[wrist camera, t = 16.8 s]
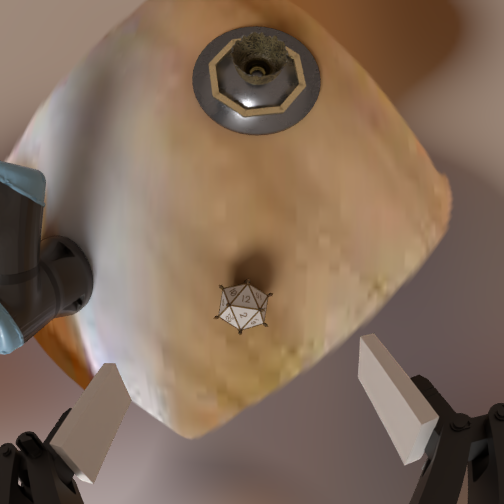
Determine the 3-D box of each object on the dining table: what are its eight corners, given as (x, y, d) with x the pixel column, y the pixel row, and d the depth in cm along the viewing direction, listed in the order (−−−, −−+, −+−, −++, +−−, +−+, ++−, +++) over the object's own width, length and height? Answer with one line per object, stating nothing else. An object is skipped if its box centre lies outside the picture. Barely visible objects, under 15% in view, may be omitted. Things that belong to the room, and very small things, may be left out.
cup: (288, 66, 37) (297, 43, 29) (270, 102, 38) (275, 84, 30) (245, 49, 36) (245, 24, 28) (225, 85, 37) (221, 64, 29)
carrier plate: (200, 144, 40) (198, 142, 39) (189, 39, 36) (187, 33, 34) (328, 129, 40) (332, 127, 38) (305, 27, 36) (308, 22, 34)
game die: (246, 299, 50) (240, 350, 44) (209, 277, 46) (198, 332, 39) (284, 281, 45) (282, 338, 38) (246, 255, 41) (238, 316, 34)
